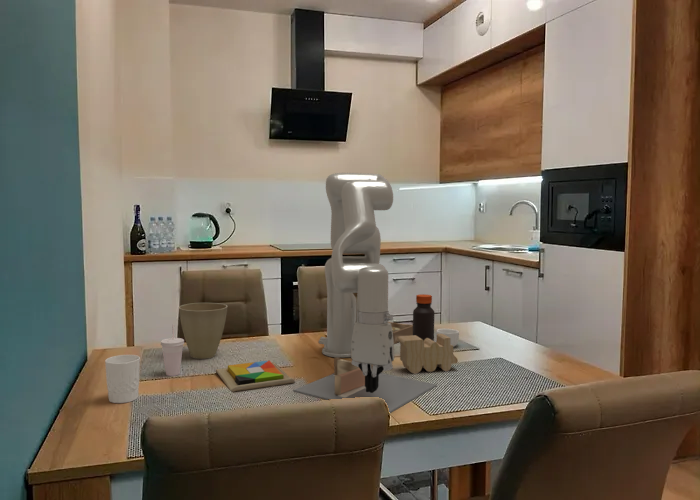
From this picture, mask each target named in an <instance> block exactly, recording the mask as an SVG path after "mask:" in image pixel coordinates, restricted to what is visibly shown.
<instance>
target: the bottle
mask: <svg viewBox="0 0 700 500" xmlns="http://www.w3.org/2000/svg"><path fill="white" fill-rule="evenodd" d="M415 297H416V298H415V302H416V307H415V308H414V309H413V311H412V325H413V335H416V336H418V337H419V338H421V339H422V340H425V339H426V338H429V339H431V340H433V341H434V342H435V310H434V309H433V308H432V303H433V296H432V294H431V295H430V294H425V293H424V294H423V293H421V294H416V296H415Z"/></svg>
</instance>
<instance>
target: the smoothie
mask: <svg viewBox="0 0 700 500" xmlns="http://www.w3.org/2000/svg"><path fill="white" fill-rule="evenodd" d="M175 326H176V325H175V324H172V337H170V338H163V339H162V340H160V346H161V349H162V350H161V351H162V355H163V363H164V368H165V369H164V370H165V376H168V377H175V376H179V375H180V374H181V366H182V359H183V358H182V355H183V349H184V348H183V346H184V344H185V338H184V339H183V338H180V337H175V335H176V334H175Z"/></svg>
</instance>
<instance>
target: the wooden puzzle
mask: <svg viewBox="0 0 700 500" xmlns="http://www.w3.org/2000/svg"><path fill="white" fill-rule="evenodd" d="M215 374H218V376H219V378H220V379H221V380H222V381H223V383H224V384H225V385H226V388H228V389H229V391H230V392H233V393H235V392H241V391H247V390H256V389H261V388H268V387H276V386H282V385H290V384H294V383H295V379H294V378H292V377H290V376H289V375H288V374H287V373H286V372H285V371H284V370H283V369H282V368H281V367H280V366H279V365H277V363H275V362H274V361H271V360H261V361H253V362H245V363H238V364H237V363H236V364H229V365H227V367H226V368H224V367H223V368H216V369H215Z"/></svg>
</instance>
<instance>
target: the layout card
mask: <svg viewBox="0 0 700 500" xmlns="http://www.w3.org/2000/svg"><path fill="white" fill-rule="evenodd" d="M335 376H336V375H334V373H331V374H329V375H327V376H324V377H322V378H319V379H316V380H315V381H312V382H309V383H306V384H304V385H302V386H299V387H297V388H294V389H293V392H295V393H299V394H303V395H307V396H310V397H315V398H318V399H322V400H326V401H329V400H328V399H342V398H355V397H379V398H382V399H384V400H385V402H386V403H387V405H388V408H389V412H390V414H391V413H393V412H395V411H396V410H398V409H400V408H401V407H404V405H407V404H408V403H410V402H412V401H414V400H415V399H417V398H419V397H420V396H422V395H424V394H425V393H427V392H429V391H431V390H432V389H434V388H436V387H437V386H438V385H437V384H436V383H431V382H426V381H422V380H416V379H412V378H408V377H403V376H398V375H393V374H388V373H382V372H381V373H380V374H379V380H378V388H377V390H376V391H374V392H373V393H370V392H366V387H365V385H363V386H361V387H358V388H355V389H352V390H350V391H347V392H344V393H342V394H340V395H336V394H335Z"/></svg>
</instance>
